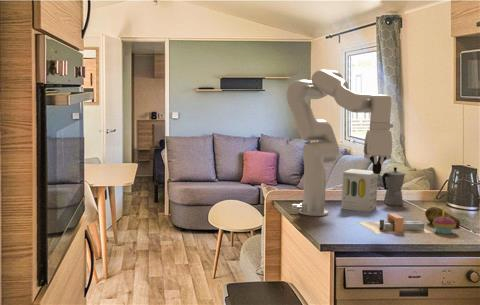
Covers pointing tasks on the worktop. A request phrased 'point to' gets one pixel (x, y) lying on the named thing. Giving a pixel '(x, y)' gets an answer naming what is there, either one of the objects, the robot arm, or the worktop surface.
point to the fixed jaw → (405, 226)
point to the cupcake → (444, 223)
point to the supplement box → (359, 190)
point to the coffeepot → (393, 187)
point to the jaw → (405, 222)
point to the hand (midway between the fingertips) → (376, 173)
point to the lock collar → (396, 221)
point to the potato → (439, 215)
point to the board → (375, 228)
